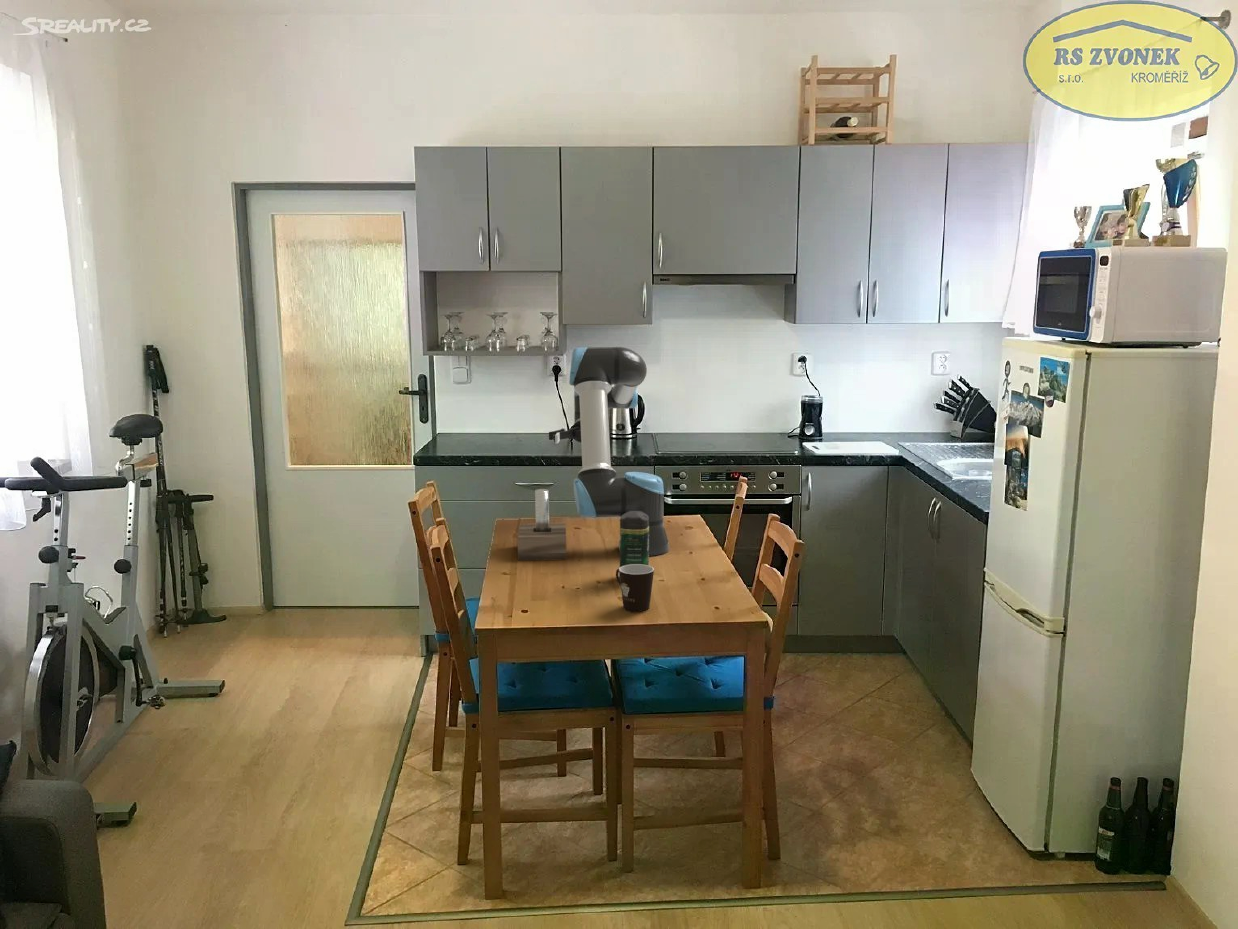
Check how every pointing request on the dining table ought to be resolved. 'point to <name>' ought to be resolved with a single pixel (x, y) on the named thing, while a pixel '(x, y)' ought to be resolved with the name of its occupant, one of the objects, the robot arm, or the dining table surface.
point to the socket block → (542, 542)
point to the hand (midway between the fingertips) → (577, 439)
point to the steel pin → (542, 510)
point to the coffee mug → (635, 586)
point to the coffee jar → (634, 538)
